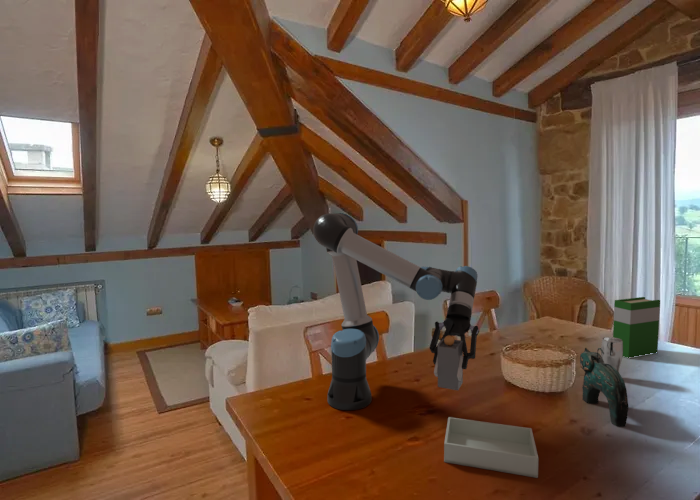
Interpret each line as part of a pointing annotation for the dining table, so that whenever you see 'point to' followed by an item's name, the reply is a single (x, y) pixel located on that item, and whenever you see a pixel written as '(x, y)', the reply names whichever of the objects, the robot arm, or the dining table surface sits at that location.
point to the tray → (491, 446)
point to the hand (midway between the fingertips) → (447, 376)
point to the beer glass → (612, 351)
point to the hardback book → (637, 325)
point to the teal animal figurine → (604, 385)
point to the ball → (449, 340)
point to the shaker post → (449, 364)
